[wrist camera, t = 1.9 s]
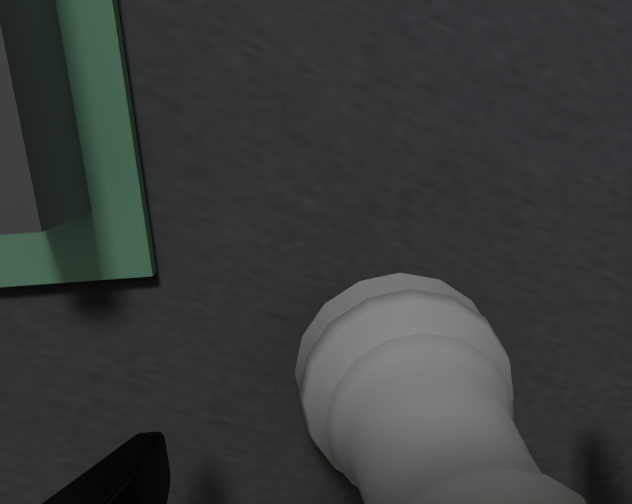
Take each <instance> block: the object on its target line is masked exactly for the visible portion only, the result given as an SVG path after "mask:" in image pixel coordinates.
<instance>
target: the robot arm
mask: <svg viewBox="0 0 632 504" xmlns="http://www.w3.org/2000/svg"><path fill="white" fill-rule="evenodd" d="M169 489H170V469H169V462H168V456H167V449H166V442H165V438H164V435H163V434H162V433H161V432H147V433H139V434H137V435H135V436H134V437H132V438H131V439H130V440H128V441H127V442H126V443H124V444H123V445H121V446H120V447H119V448H117V449H116V450H115V451H113V452H112V453H111V454H109V455H108V456H106V457H105V458H104V459H102V460H101V461H100V462H98V463H97V464H96V465H94V466H93V467H91V468H90V469H89V470H87V471H86V472H85V473H83V474H82V475H81V476H79V477H78V478H76V479H75V480H74V481H72V482H71V483H70V484H68V485H67V486H65V487H64V488H63V489H61V490H60V491H59V492H57V493H56V494H55V495H53V496H52V497H50V498H49V499H48V500H46V501H45V502H44V503H42V504H167V499H168V494H169Z"/></svg>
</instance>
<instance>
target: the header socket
mask: <svg viewBox="0 0 632 504" xmlns="http://www.w3.org/2000/svg"><path fill="white" fill-rule="evenodd" d="M155 273H156V265H155V258H154V251H153V244H152V237H151V230H150V223H149V216H148V210H147V203H146V196H145V189H144V182H143V175H142V168H141V161H140V154H139V147H138V140H137V133H136V127H135V120H134V113H133V106H132V99H131V92H130V85H129V78H128V71H127V64H126V57H125V51H124V44H123V37H122V30H121V23H120V16H119V9H118V2H117V0H0V287H12V286H26V285H40V284H54V283H67V282H81V281H95V280H109V279H122V278H136V277H150V276H153V275H154V274H155Z"/></svg>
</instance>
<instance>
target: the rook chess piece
mask: <svg viewBox="0 0 632 504" xmlns="http://www.w3.org/2000/svg"><path fill="white" fill-rule="evenodd" d="M295 377H296V381H297V386H298V390H299V398H300V402H301V406H302V410H303V415H304V419H305V423H306V427H307V431H308V433H309V434H310V436H311V438H312V439H313V441H314V442H315V443H316V445H317V446H318V447H319V449H320V450H321V451H322V452H323V454H324V455H325V456H326V457H327V459H328V460H329V461H330V463H331V464H332V465H333V466H334V468H335V469H337V470H338V471H340V472H342V473H344V475H345V476H346V477H347V478H348V480H349V481H350V482H351V483H352V484H353V485H355V486H357V487H358V489H359V491H360V494H361V496H362V499H363V501H364V504H587V503H586V502H585V500H584V498H583V497H582V496H581V495H579V494H578V493H576V492H574V491H573V490H571V489H569V488H567V487H566V486H564V485H562V484H561V483H559V482H557V481H556V480H554V479H552V478H551V477H549V476H547V475H545V474H543V473H542V472H541V471H540V469H539V468H538V467H537V465H536V464H535V462H534V460H533V458H532V457H531V455H530V453H529V451H528V449H527V447H526V445H525V443H524V441H523V439H522V437H521V436H520V434H519V432H518V430H517V428H516V426H515V424H514V422H513V421H514V414H513V405H512V401H513V398H514V397H513V388H512V379H511V370H510V361H509V358H508V355H507V352H506V350H505V348H504V347H503V345H502V343H501V342H500V340H499V339H498V337H497V335H496V334H495V332H494V330H493V329H492V327H491V326H490V324H489V322H488V321H487V319H486V318H485V317H483V316H482V315H480V313H479V311H478V310H477V308H476V307H475V305H474V303H473V302H472V301H471V300H470V299H468V298H467V297H465V296H464V295H462V294H461V293H459V292H458V291H456V290H455V289H453V288H452V287H450V286H449V285H447V284H446V283H444V282H443V281H441V280H439V279H433V278H427V277H422V276H416V275H410V274H405V273H396V274H391V275H387V276H382V277H377V278H372V279H368V280H363V281H359V282H357V283H356V284H354V285H353V286H351V287H350V288H348V289H347V290H345V291H344V292H342V293H341V294H339V295H338V296H336V297H335V298H333V299H332V300H330V301H328V302H327V303H325V304H324V306H323V307H322V309H321V310H320V311H319V313H318V314H317V316H316V317H315V319H314V320H313V322H312V323H311V324H310V326H309V327H308V329H307V330H306V332H305V333H304V334H303V336H302V339H301V344H300V349H299V354H298V359H297V364H296V369H295Z"/></svg>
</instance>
